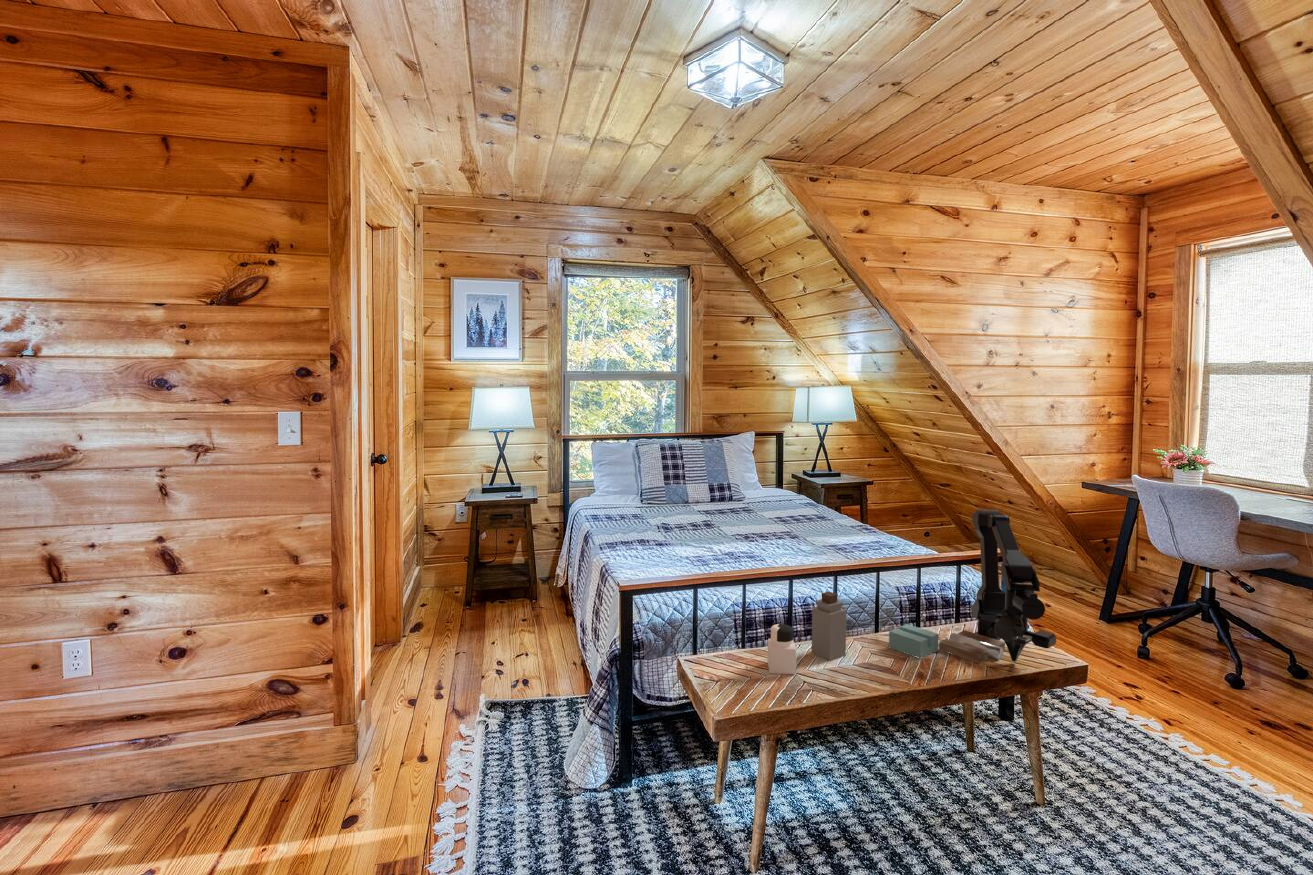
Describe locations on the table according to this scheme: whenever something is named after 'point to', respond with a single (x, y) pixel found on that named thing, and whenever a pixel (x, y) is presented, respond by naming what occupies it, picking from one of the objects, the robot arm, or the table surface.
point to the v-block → (913, 640)
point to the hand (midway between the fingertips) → (1014, 660)
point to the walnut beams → (969, 647)
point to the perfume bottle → (829, 628)
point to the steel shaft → (979, 645)
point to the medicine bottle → (781, 650)
